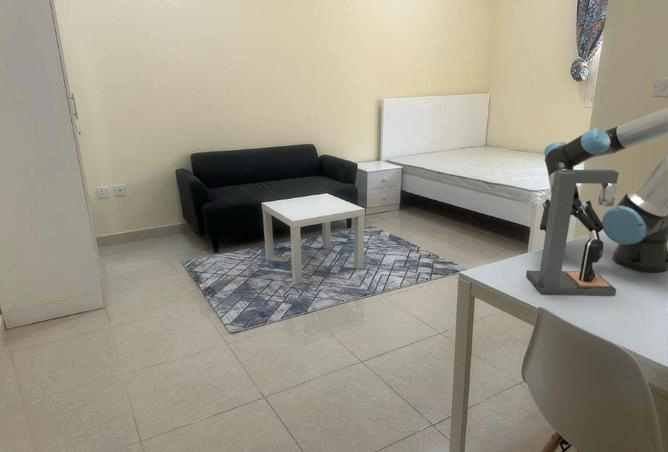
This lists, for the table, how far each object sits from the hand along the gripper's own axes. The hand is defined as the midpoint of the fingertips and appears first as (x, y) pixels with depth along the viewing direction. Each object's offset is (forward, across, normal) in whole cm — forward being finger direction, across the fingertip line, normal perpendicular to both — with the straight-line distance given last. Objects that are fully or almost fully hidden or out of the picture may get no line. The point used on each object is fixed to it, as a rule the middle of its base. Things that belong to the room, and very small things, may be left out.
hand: (576, 251), depth 136 cm
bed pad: (+9, -1, +1) cm, 9 cm away
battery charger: (+9, -2, +1) cm, 9 cm away
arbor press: (+10, +4, -1) cm, 11 cm away
